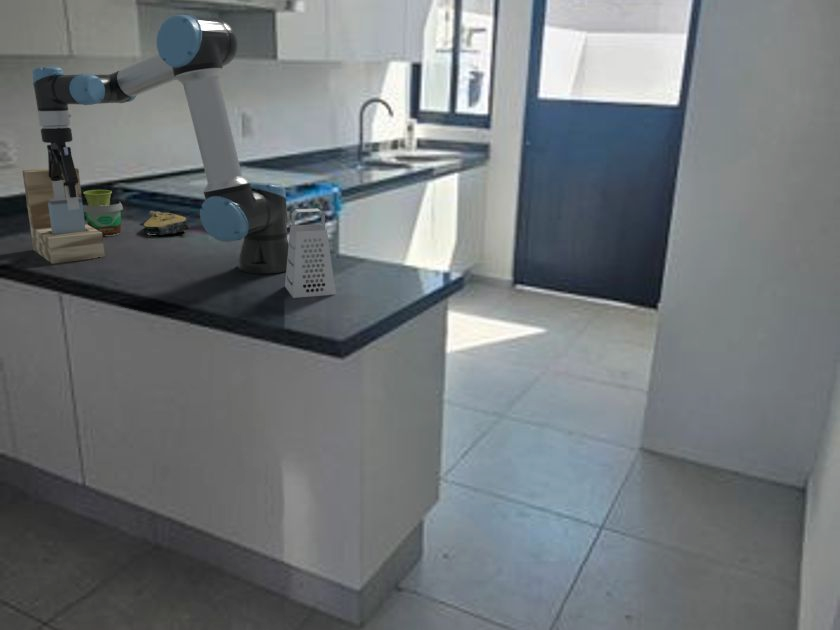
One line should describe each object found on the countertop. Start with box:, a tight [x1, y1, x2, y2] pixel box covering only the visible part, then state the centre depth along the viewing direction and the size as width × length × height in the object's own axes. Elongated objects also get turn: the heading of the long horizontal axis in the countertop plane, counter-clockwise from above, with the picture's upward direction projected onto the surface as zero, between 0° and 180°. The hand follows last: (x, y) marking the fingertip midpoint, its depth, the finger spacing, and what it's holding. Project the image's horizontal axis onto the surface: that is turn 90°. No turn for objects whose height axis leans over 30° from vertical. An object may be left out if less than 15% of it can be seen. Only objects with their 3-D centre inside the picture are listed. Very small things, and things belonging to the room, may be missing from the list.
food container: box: [83, 201, 124, 236], centre depth 240 cm, size 12×6×10 cm, turn 131°
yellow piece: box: [143, 210, 191, 236], centre depth 253 cm, size 14×6×30 cm
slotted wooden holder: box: [21, 167, 106, 265], centre depth 215 cm, size 20×14×23 cm
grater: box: [284, 207, 337, 299], centre depth 185 cm, size 10×10×20 cm
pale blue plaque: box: [47, 197, 86, 235], centre depth 213 cm, size 4×8×12 cm, turn 129°
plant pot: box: [83, 189, 113, 206], centre depth 270 cm, size 9×9×9 cm
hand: (67, 206), depth 211 cm, fingers open, 12 cm apart
